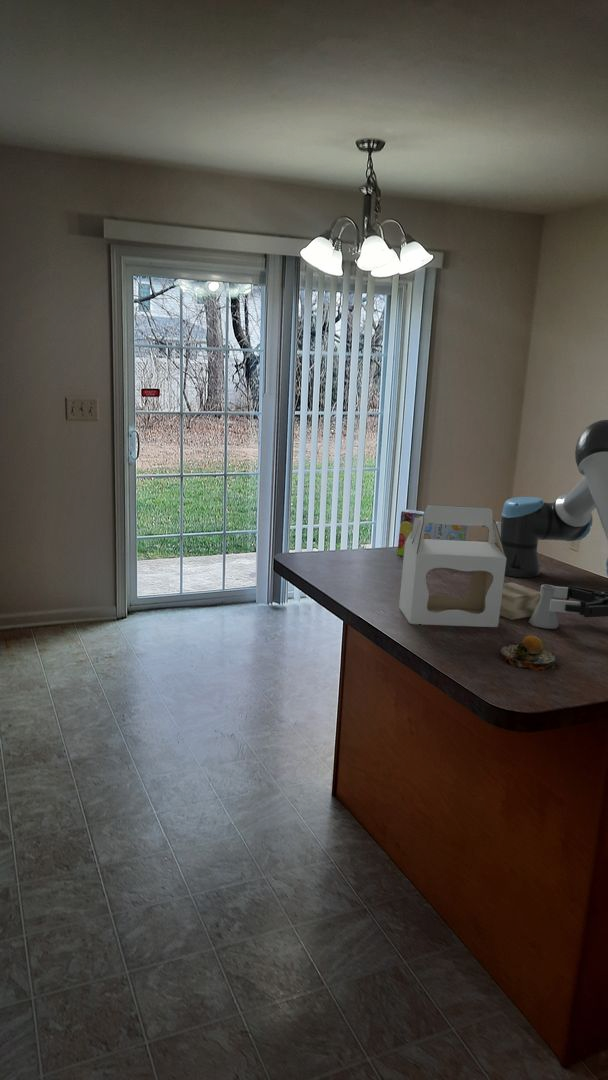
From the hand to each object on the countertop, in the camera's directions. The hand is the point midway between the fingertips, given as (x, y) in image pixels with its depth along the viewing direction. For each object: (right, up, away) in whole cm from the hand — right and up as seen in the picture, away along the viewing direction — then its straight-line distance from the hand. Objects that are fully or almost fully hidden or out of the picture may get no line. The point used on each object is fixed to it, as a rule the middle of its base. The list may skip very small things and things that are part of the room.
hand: (544, 597), depth 190 cm
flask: (0, -7, +2) cm, 7 cm away
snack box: (-18, +8, +64) cm, 67 cm away
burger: (-11, -12, -23) cm, 29 cm away
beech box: (-6, -4, +11) cm, 13 cm away
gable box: (-23, -5, +3) cm, 24 cm away
